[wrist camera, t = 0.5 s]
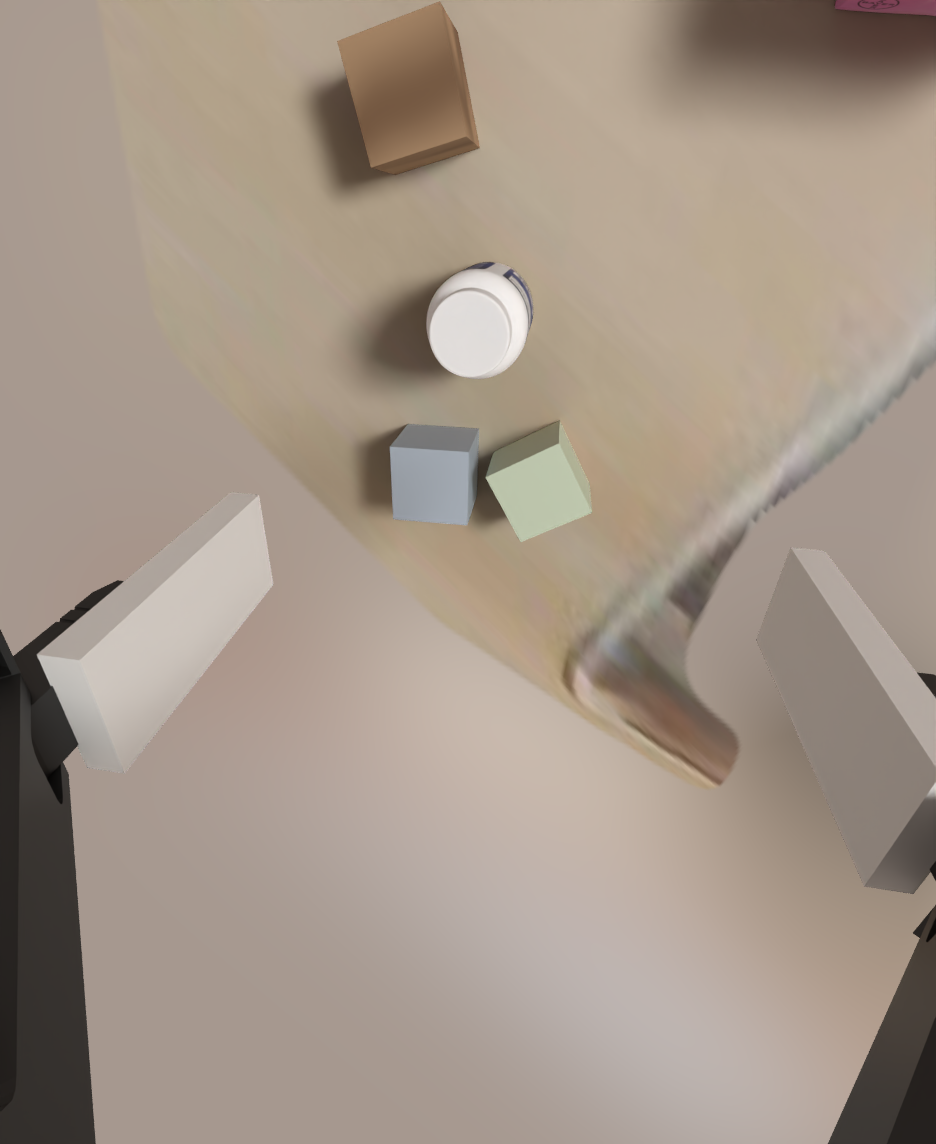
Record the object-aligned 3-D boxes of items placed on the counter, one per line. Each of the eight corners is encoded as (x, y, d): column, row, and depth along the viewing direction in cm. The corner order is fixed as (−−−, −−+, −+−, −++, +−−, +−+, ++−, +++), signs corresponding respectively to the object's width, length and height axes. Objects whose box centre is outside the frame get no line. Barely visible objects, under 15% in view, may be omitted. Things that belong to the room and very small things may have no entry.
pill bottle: (438, 340, 38) (402, 373, 30) (460, 249, 35) (427, 256, 27) (518, 366, 38) (504, 406, 30) (546, 277, 35) (540, 294, 27)
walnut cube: (368, 66, 32) (337, 41, 27) (457, 32, 30) (439, 1, 26) (395, 174, 34) (370, 167, 30) (479, 147, 33) (466, 136, 28)
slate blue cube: (408, 423, 41) (389, 446, 37) (479, 428, 41) (468, 452, 36) (410, 490, 44) (393, 519, 40) (477, 495, 43) (467, 525, 39)
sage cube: (493, 451, 41) (485, 477, 37) (559, 419, 40) (558, 443, 35) (525, 510, 43) (520, 542, 39) (589, 483, 42) (592, 512, 37)
